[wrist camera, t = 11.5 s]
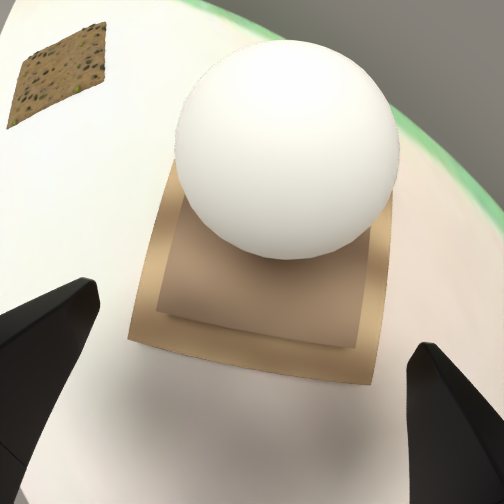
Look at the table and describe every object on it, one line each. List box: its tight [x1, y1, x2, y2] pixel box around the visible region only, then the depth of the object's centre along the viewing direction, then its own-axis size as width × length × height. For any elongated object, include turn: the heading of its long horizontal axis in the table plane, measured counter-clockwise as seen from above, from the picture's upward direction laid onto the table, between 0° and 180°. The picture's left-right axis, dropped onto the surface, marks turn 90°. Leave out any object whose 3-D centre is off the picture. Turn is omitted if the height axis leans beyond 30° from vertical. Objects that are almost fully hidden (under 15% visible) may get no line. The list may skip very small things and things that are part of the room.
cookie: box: [7, 22, 106, 129], centre depth 25 cm, size 12×12×1 cm
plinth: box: [127, 159, 393, 385], centre depth 18 cm, size 14×14×4 cm
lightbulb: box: [175, 40, 400, 260], centre depth 11 cm, size 6×6×11 cm
